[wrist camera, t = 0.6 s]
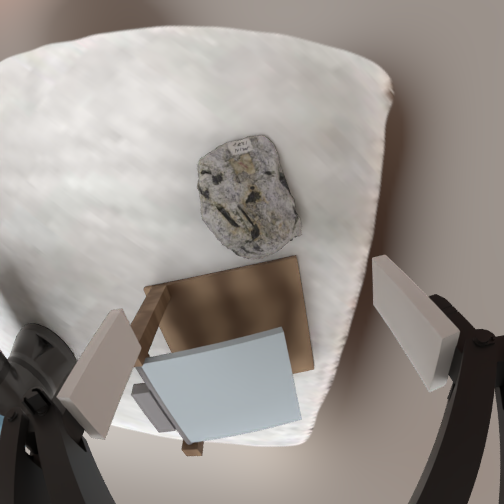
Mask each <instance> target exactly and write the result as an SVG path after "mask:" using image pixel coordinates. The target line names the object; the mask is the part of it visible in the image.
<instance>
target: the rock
mask: <svg viewBox="0 0 504 504" xmlns="http://www.w3.org/2000/svg"><path fill="white" fill-rule="evenodd" d="M197 170H198V178H199V179H198V185H197V189H198V190H199V197H200V200H201V215H202V220H203V221H204V222H205V224H206V225H207V226H208V228H209V229H210V230H211V231H212V232H213V233H214V235H215V236H216V238H217V239H218V240H219V241H220V242H221V243H222V245H224V246H226V247H227V248H228V249H231V250H232V251H233V252H234V253H235V254H236V255H238V256H242V257H244V258H248V259H260V258H263V257H265V256H268V255H270V254H273V253H275V252H277V251H279V250H280V249H281V248H282V247H283V246H284V245H285V244H287V243H288V242H289V241H292V239H293V238H294V237H297V236H301V235H302V232H301V221H300V217H299V216H298V215H297V213H296V211H295V201H294V198H293V197H292V196H291V194H290V191H289V188H288V185H287V182H286V179H285V176H284V174H283V171H282V169H281V167H280V164H279V156H278V153H277V152H276V150H275V146H274V145H273V143H272V142H271V141H270V140H269V139H268V138H266V137H265V136H261V135H259V136H252V137H246V138H244V139H242V140H239V141H232V142H228V143H225V144H224V145H221V146H219V147H217V148H216V149H215V151H212V152H210V153H208V154H207V155H205V156H204V157H202V158H200V160H199V162H198V168H197Z"/></svg>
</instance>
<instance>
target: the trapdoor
mask: <svg viewBox="0 0 504 504" xmlns="http://www.w3.org/2000/svg"><path fill="white" fill-rule="evenodd" d="M136 369H137V371H138V372H139V374H140V376H141V377H142V379H143V381H144V382H145V383H140V384H134V385H133V389H132V393H131V395H132V397H133V398H134V400H135V401H136V402H137V404H138V405H139V407H140V408H141V409H142V411H143V412H144V414H145V415H146V416H147V418H148V419H149V420H150V422H151V423H152V424H153V425H154V427H155V428H156V429H157V431H158V432H168V431H175V429H176V430H177V431H178V433H179V434H180V435H181V437H182V438H183V439H184V441H185V442H186V443H187V444H188V445H190V444H192V443H193V442H200V441H207V440H213V439H219V438H225V437H231V436H236V435H241V434H246V433H250V432H255V431H259V430H263V429H268V428H272V427H276V426H280V425H283V424H287V423H291V422H294V421H298V420H301V419H302V418H301V413H300V408H299V403H298V398H297V394H296V389H295V384H294V379H293V374H292V369H291V364H290V360H289V355H288V350H287V345H286V340H285V336H284V331H283V329H282V327H278V328H275V329H271V330H267V331H264V332H260V333H256V334H252V335H248V336H244V337H240V338H236V339H232V340H228V341H224V342H220V343H216V344H211V345H207V346H202V347H198V348H193V349H189V350H184V351H179V352H174V353H169V354H164V355H159V356H154V357H148V358H146V359H145V361H144V364H143V366H140V367H136Z"/></svg>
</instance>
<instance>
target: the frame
mask: <svg viewBox="0 0 504 504" xmlns="http://www.w3.org/2000/svg"><path fill="white" fill-rule="evenodd" d="M144 292H145V294H146V298H145V300H144V302H143V303H142V305H141V307H140V309H139V311H138V312H137V314H136V316H135V318H134V320H133V321H132V323H131V325H130V326H131V328H132V330H133V332H134V334H135V336H136V338H137V340H138V342H139V344H140V346H141V351H140V353H139V355H138V358H137V360H136V362H135V365H134V367H140V366H143V364H144V361H145V359H146V358H148V357H150V356H149V354H148V351H149V349H150V346H151V344H152V341H153V339H154V336H155V334H156V331H157V329H158V327H160V329H161V331H162V333H163V335H164V338H165V340H166V342H167V344H168V346H169V348H170V350H171V352H172V353H174V352H179V351H184V350H189V349H193V348H198V347H202V346H207V345H211V344H216V343H220V342H224V341H228V340H232V339H236V338H240V337H244V336H248V335H252V334H256V333H260V332H264V331H267V330H271V329H275V328H278V327H282V329H283V331H284V336H285V340H286V345H287V350H288V355H289V360H290V364H291V369H292V374H295V373H299V372H304V371H308V370H313V369H314V364H313V357H312V350H311V343H310V336H309V330H308V323H307V317H306V310H305V304H304V298H303V292H302V286H301V280H300V274H299V268H298V262H297V257H296V255H295V256H291V257H286V258H281V259H277V260H272V261H267V262H263V263H258V264H253V265H249V266H244V267H239V268H235V269H230V270H225V271H220V272H215V273H211V274H206V275H201V276H196V277H191V278H187V279H182V280H177V281H172V282H167V283H162V284H157V285H152V286H147V287H145V288H144ZM203 444H204V441H200V442H193V443H192V444H190V445H188V444H187V443H186V442H185V441H184V439H183V444H182V451H183V452H184V453H185V455H186V456H202V453H203Z"/></svg>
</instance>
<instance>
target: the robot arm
mask: <svg viewBox="0 0 504 504" xmlns="http://www.w3.org/2000/svg"><path fill="white" fill-rule="evenodd" d="M372 270H373V305H374V306H375V308H376V309H377V310H378V312H379V313H380V315H381V316H382V318H383V319H384V321H385V322H386V324H387V325H388V327H389V328H390V330H391V331H392V333H393V335H394V336H395V338H396V339H397V341H398V342H399V344H400V346H401V347H402V349H403V350H404V352H405V353H406V355H407V357H408V358H409V360H410V361H411V363H412V365H413V366H414V368H415V369H416V371H417V373H418V374H419V376H420V378H421V379H422V381H423V383H424V384H425V386H426V388H427V389H428V391H429V392H431V391H434V390H436V389H438V388H441V387H443V386H445V385H446V382H447V379H448V375H449V376H450V378H451V379H452V381H453V384H452V387H451V390H450V392H449V395H448V398H447V399H448V402H447V406H446V409H445V413H444V416H443V420H442V422H441V426H440V429H439V432H438V435H437V438H436V440H435V443H434V446H433V449H432V451H431V454H430V456H429V459H428V462H427V464H426V466H425V469H424V471H423V473H422V476H421V478H420V480H419V482H418V484H417V487H416V489H415V491H414V493H413V495H412V497H411V499H410V501H409V503H408V504H467V503H468V501H469V498H470V495H471V492H472V489H473V486H474V483H475V480H476V477H477V474H478V470H479V467H480V463H481V459H482V456H483V452H484V447H485V443H486V438H487V433H488V429H489V424H490V418H491V412H492V404H493V398H494V389H495V394H496V402H497V410H498V419H499V433H500V461H501V462H500V463H501V464H500V465H501V466H500V469H501V470H500V493H499V504H504V335H503V336H498V337H495V335H494V334H493V333H491V332H490V331H488V330H484V329H475V328H474V327H473V326H472V325H471V324H470V323H469V322H468V321H467V320H466V319H465V318H464V317H463V316H462V315H461V314H460V313H459V312H457V310H456V309H455V308H454V307H452V305H451V304H450V303H449V302H448V301H447V300H446V299H445V298H443V297H441V296H439V295H437V294H435V295H432V296H429V297H428V296H427V295H426V294H425V293H424V292H423V291H422V290H421V289H420V288H419V287H418V286H417V285H416V284H415V283H414V282H413V281H412V280H411V279H410V278H409V277H408V276H407V275H406V274H405V273H404V272H403V271H402V270H401V269H400V268H399V267H398V266H397V265H396V264H395V263H393V261H391V260H390V259H389V258H388V257H387V256H386V255H383V256H379V257H374V258H372ZM140 351H141V346H140V344H139V342H138V340H137V338H136V336H135V334H134V332H133V330H132V328H131V326H130V324H129V322H128V320H127V317H126V315H125V313H124V311H123V309H116V310H111V311H110V312H109V314H108V315H107V317H106V318H105V320H104V321H103V323H102V324H101V326H100V327H99V329H98V330H97V332H96V333H95V335H94V336H93V338H92V339H91V341H90V343H89V344H88V346H87V347H86V349H85V350H84V352H83V353H82V355H81V357H80V358H79V360H78V361H77V362H76V359H75V357H74V355H73V354H72V352H71V350H70V349H69V348H68V346H67V345H66V344H65V343H64V342H63V341H62V340H61V339H60V338H59V337H58V336H57V335H56V334H54V333H53V332H52V331H50V330H49V329H47V328H45V327H43V326H41V325H38V324H27V325H25V326H24V327H23V328H22V329H21V330H20V331H19V333H18V334H17V336H16V339H15V342H14V345H13V348H12V351H11V354H10V356H9V358H8V359H6V357H5V356H4V354H3V353H2V351H1V350H0V504H116V503H115V502H114V500H113V498H112V496H111V494H110V492H109V490H108V488H107V486H106V484H105V482H104V480H103V478H102V476H101V474H100V472H99V469H98V467H97V465H96V463H95V461H94V458H93V456H92V453H91V451H90V448H89V446H88V443H87V441H86V439H85V438H84V437H83V436H82V435H83V433H84V430H85V431H86V432H87V433H88V434H89V436H90V437H91V438H95V439H104V440H105V438H106V436H107V433H108V430H109V427H110V425H111V422H112V420H113V417H114V414H115V412H116V409H117V407H118V404H119V402H120V399H121V396H122V394H123V391H124V389H125V387H126V384H127V382H128V379H129V377H130V374H131V372H132V370H133V367H134V365H135V362H136V360H137V358H138V355H139V353H140ZM25 447H27V448H28V449H29V450H30V455H28V454H27V453H26V452H25Z"/></svg>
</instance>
